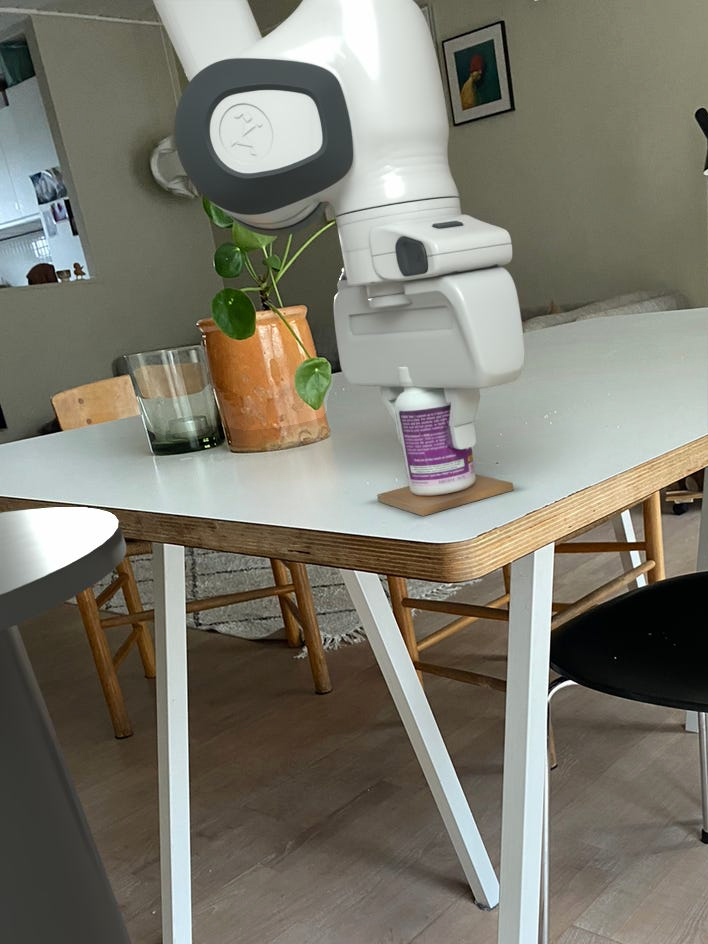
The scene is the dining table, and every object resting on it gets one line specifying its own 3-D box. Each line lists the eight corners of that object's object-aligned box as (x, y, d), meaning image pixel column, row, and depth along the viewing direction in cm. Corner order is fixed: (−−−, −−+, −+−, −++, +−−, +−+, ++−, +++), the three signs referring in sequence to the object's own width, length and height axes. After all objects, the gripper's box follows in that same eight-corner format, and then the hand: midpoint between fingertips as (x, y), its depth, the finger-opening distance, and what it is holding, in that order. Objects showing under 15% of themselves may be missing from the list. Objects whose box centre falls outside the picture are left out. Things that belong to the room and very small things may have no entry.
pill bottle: (489, 485, 72) (470, 356, 68) (426, 501, 70) (404, 369, 66) (459, 476, 76) (440, 355, 73) (399, 491, 74) (377, 367, 71)
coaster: (422, 516, 68) (421, 508, 68) (377, 501, 75) (376, 494, 74) (514, 490, 71) (513, 482, 71) (463, 478, 78) (462, 471, 78)
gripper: (301, 271, 73) (337, 446, 78) (448, 242, 57) (481, 464, 62) (370, 260, 76) (400, 429, 81) (527, 230, 60) (552, 443, 65)
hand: (436, 444), depth 72 cm, fingers closed on pill bottle, 5 cm apart
